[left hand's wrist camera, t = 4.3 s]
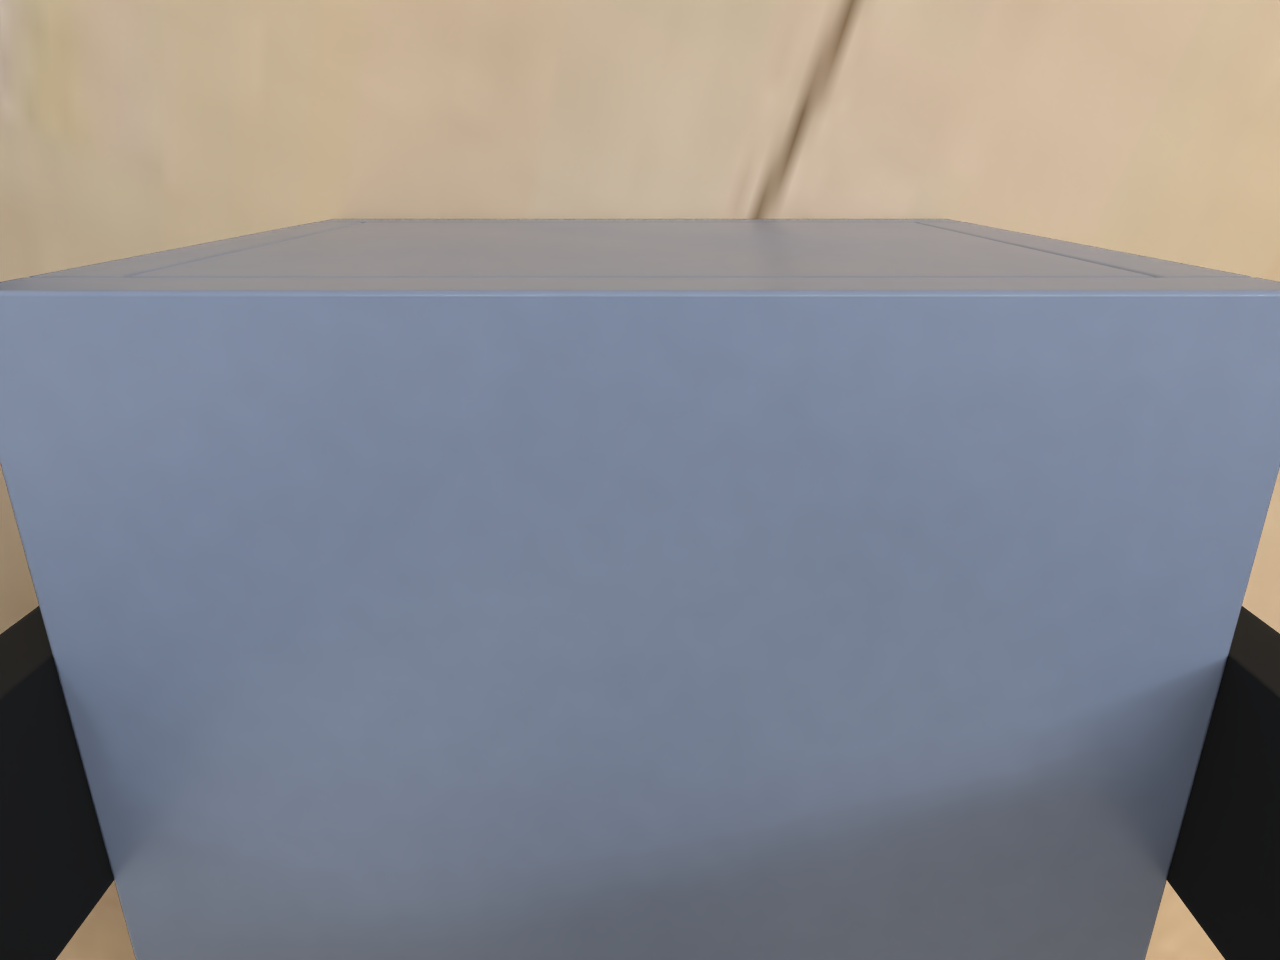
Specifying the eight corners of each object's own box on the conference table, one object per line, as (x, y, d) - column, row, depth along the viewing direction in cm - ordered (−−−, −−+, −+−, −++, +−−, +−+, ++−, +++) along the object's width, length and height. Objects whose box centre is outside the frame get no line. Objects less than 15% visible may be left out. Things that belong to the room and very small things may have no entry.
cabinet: (864, 929, 21) (1014, 1442, 13) (415, 930, 21) (266, 1442, 13) (949, 218, 15) (1332, 290, 7) (330, 219, 15) (-51, 290, 7)
